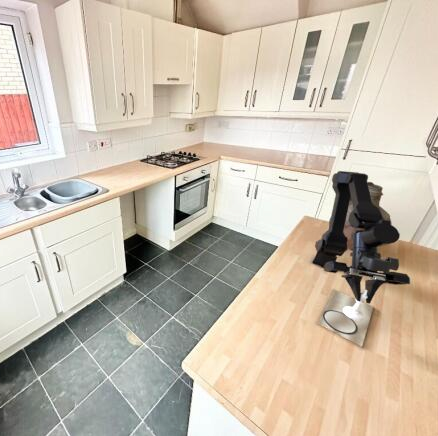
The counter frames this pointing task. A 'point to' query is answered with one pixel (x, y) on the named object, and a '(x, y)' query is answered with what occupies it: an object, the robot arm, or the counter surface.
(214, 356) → the counter surface
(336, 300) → the grey plate with ring
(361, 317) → the chess piece
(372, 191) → the jug
